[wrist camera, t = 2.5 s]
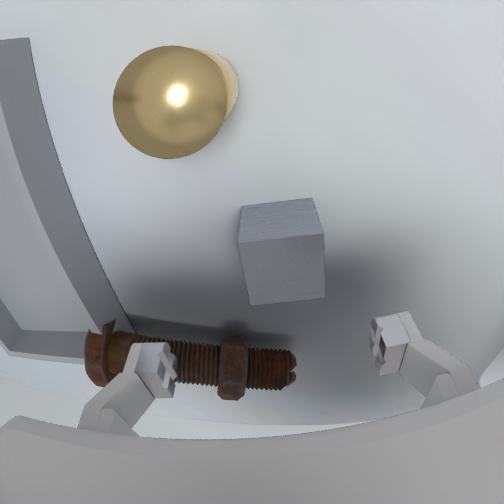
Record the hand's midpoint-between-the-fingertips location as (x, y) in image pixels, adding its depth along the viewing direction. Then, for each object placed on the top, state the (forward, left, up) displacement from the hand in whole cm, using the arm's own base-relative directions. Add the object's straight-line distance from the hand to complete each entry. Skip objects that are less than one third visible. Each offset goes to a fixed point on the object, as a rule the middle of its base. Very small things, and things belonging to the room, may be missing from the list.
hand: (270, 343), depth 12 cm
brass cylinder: (+2, -9, -8) cm, 12 cm away
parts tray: (+19, -4, -8) cm, 21 cm away
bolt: (+7, +9, -8) cm, 14 cm away
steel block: (-1, 0, -9) cm, 9 cm away
